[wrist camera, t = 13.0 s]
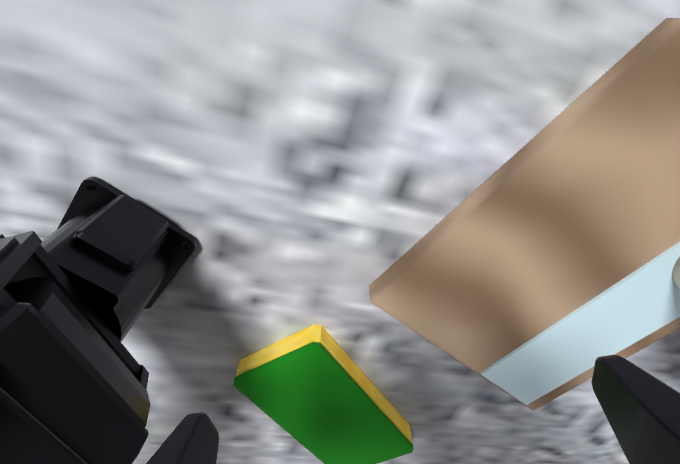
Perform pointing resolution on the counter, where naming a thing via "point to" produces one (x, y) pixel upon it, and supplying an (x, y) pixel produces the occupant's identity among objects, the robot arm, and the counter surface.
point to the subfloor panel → (561, 240)
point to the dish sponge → (323, 400)
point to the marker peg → (676, 273)
